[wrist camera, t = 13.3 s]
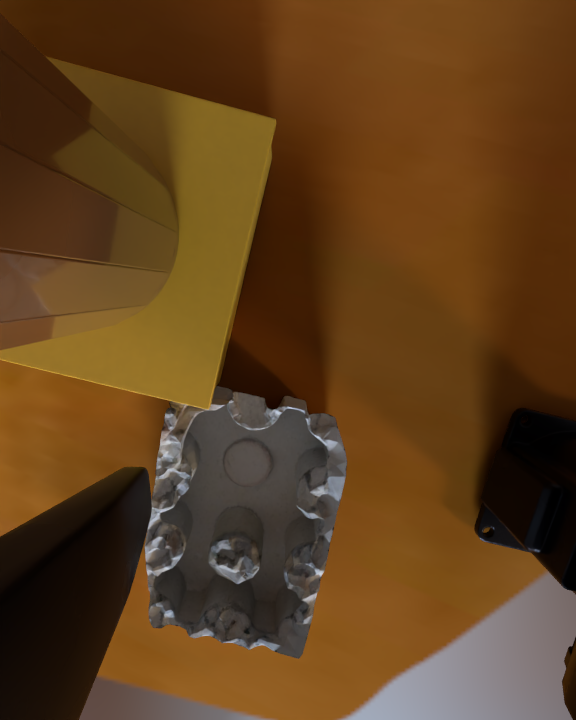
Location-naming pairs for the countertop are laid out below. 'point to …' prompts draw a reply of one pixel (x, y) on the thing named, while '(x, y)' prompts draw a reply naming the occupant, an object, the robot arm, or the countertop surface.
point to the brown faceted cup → (72, 207)
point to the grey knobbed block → (243, 519)
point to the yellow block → (195, 248)
